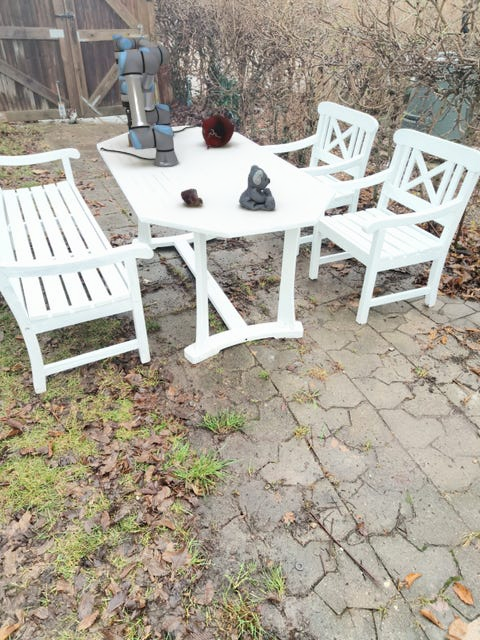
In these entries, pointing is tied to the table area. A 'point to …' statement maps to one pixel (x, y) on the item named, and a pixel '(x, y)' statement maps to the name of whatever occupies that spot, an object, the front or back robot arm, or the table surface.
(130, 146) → the block
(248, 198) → the koala plush
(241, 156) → the table surface
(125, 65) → the front robot arm
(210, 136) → the dark red rounded piece
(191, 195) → the rock
